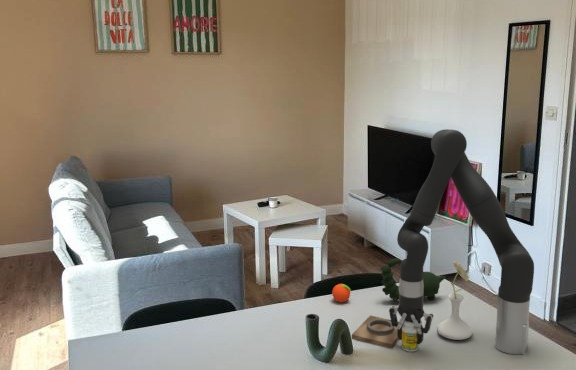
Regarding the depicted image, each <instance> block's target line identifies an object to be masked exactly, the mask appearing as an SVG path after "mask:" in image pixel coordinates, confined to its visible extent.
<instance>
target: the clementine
mask: <svg viewBox="0 0 576 370" xmlns="http://www.w3.org/2000/svg"><path fill="white" fill-rule="evenodd" d="M351 292H352V289H351V288H350V287H349V286H348V285H346V284H344V283H338V284H337V285H334V287H333V288H332V291H331V294H332V297H333V299H334V300H335V301H336V302H338V303H344V302H347V301H348V300H349V298H350V297H351Z"/></svg>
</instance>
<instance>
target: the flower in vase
mask: <svg viewBox="0 0 576 370" xmlns="http://www.w3.org/2000/svg"><path fill="white" fill-rule="evenodd" d="M452 264H453V267H454V268H455V270H456V272H457V273H456V275H455V277H454V278H453V282H452V281H451V282H450V284H451V286H452V288H453V289H452V290H453V293H449V294H448V298H449V300H450V302H451V315H450V316H449V317H448V318H446V319H445V320H442V321H441V322H440V323H438V325H437V327H436V330H437V332H438V334H439V335H440V336H442V337H444V338H446V339H450V340H460V341H462V340H466V339H469V338H470V337H471V336H472V335H473V329H472V327H471V325H469V324H468V323H467V322H466V321H464V320H463V319H462V318H461V316H460V306H461V302H462V301H463V300H464V298H465V296H464V295H463V294H461V293H458V292H460V291H462V289H461V288H460V289H456V290H455V281H456V279H457V277H458V275H460V277H461V278H462V279H463V280H464V281H466V282H469V281H470V280H469V279H470V277H469V275H468V274H467V270H466V269H464V268H463V266H462V265H461V263H460V262H459V263H458V262H457V260H453V261H452Z"/></svg>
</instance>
